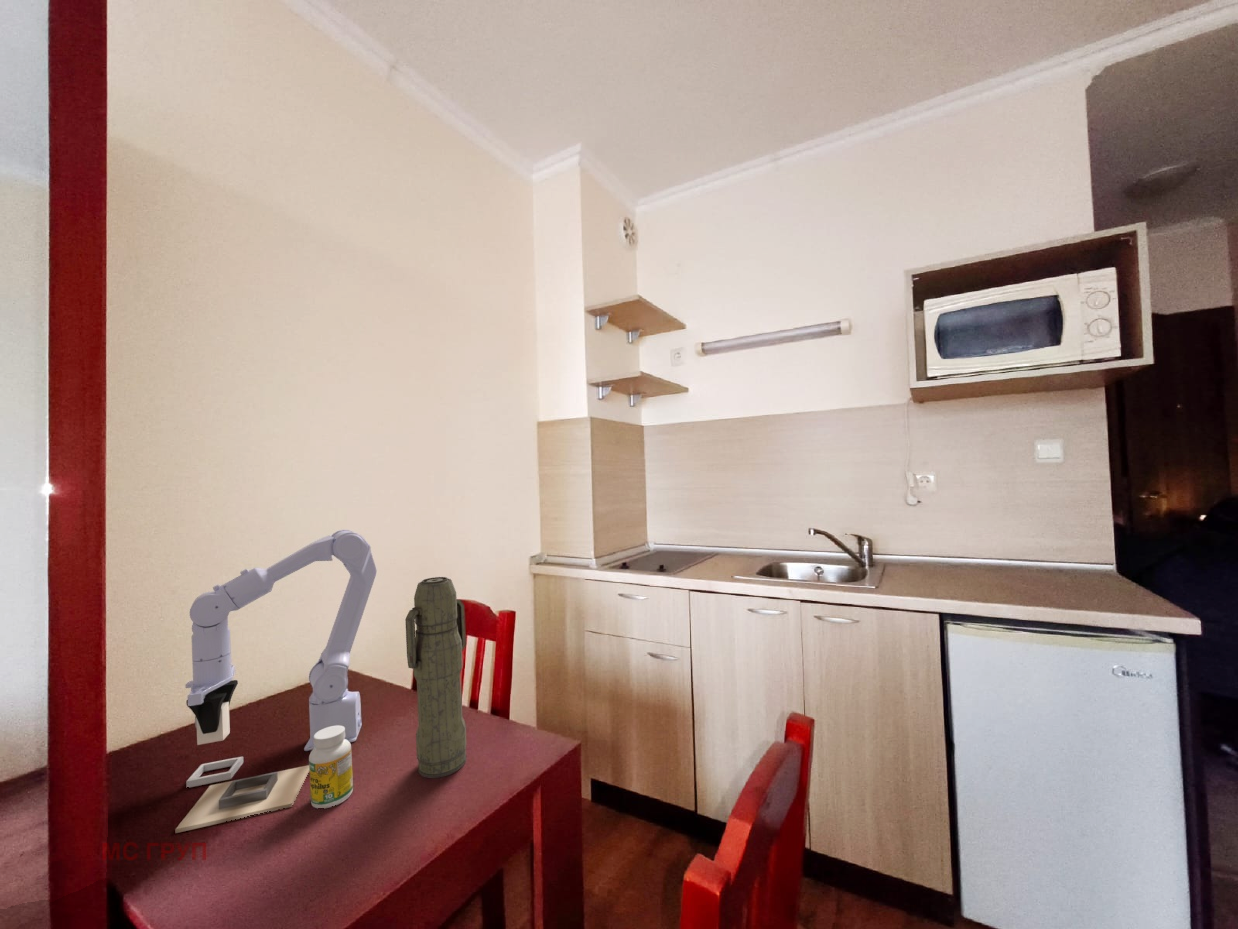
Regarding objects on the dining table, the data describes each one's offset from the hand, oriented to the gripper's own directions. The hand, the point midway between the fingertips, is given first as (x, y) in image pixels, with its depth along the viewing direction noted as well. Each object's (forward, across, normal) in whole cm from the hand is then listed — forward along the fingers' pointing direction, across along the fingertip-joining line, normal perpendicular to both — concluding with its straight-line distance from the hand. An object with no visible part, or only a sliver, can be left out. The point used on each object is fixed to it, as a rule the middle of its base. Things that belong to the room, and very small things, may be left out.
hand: (214, 727), depth 94 cm
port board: (+9, +11, +9) cm, 17 cm away
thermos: (+9, +14, +41) cm, 44 cm away
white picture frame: (+9, 0, 0) cm, 9 cm away
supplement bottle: (+9, +17, +23) cm, 30 cm away
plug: (+2, 0, 0) cm, 2 cm away
